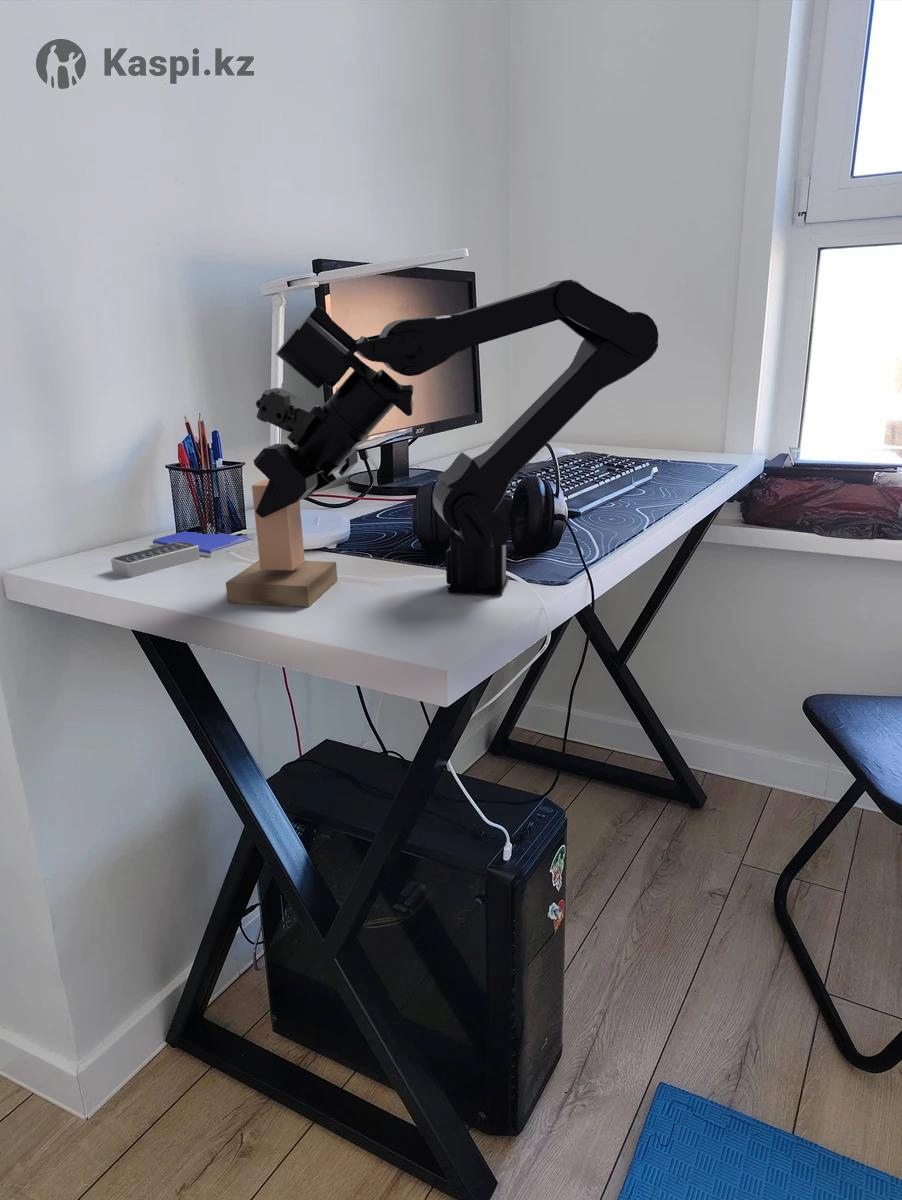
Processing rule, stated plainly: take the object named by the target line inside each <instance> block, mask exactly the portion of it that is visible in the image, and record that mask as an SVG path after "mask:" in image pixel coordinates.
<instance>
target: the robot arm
mask: <svg viewBox="0 0 902 1200" xmlns="http://www.w3.org/2000/svg"><path fill="white" fill-rule="evenodd" d="M555 321H560V322H562V323H563V324H564V325H565V326H566V327H568V328H569V329H570V330H571V331H573V332H574V333H575V334H576V335H577V336H579V337H581V338H583V340H582V341H581V343H580V345H579V347H578V349H577V351H576V354H575V355H574V358H573V360H572V361H571V363H570V364H569V366H568V368H566V369H565V370H564V372H563V373H561V375H560V376H558V377H557V379H555V381H553V382H552V383H551V384H550V386H549V387H548V388H547V389H546V390H545V391H544V392H543V393H542V394H541V395H540V396H538V398H537V399H536V400H535V401H534V402H532V403H531V405H530V406H529V407H528V408H527V409H526V410H525V411H524V412H523V413H522V414H521V415H520V416H519V417H518V418H517V419H516V420H515V421H514V422H513V423H512V424H511V425H510V426H509V427H508V428H507V429H506V430H505V431H504V432H503V433H502V434H501V435H500V437H498V439H496V440H495V442H494V443H492V444H491V445H490V447H489V448H488V449H486V450H485V451H484V452H482V453H481V454H478V455H477V456H475V457H473V458H471V457H470V456H469V455H467V454H466V453H464V452H460V453H459V454H458V455H457V457H456V458H455V459H454V460H453V462H452V463H451V465H450V466H449V467H448V468H447V469H446V470H444V471H443V472H439V473H438V474H437V475H436V476H437V478H438V479H440V480H438V482H437V483H436V484H435V486H434V488H433V490H432V505H433V507H434V510H435V512H436V513H437V514H438V516H439V517H440V518H442V520H443V521H444V522H445V523H446V524H447V525H448V527H450V529H451V530H452V531H453V532H454V534H453V536H452V537H451V538H450V539H449V541H450V542H449V547H448V549H447V550H446V551H445V571H446V572H445V575H446V576H445V577H446V584H447V585H449V586H448V587H447V593H448V594H461V595H462V594H463V595H482V596H483V595H485V596H502V595H503V593H504V591H505V589H506V586H507V584H508V582H509V579H510V578H509V576H508V575H507V543H508V539H509V538H510V534H511V532H512V527H511V525H509V524H508V523H506V521H504V519H502V518H501V517H500V516H499V515H498V514H497V513H496V512H495V511H496V510H497V509H498V507H500V505H501V503H502V502H503V500H504V498H505V496H506V493H507V490H508V489H509V487H510V484H511V482H512V480H513V479H514V478H515V476H516V475H518V473H519V472H520V471H521V470H522V469H523V468H524V467H525V466H526V465H527V464H528V463H529V462H530V461H531V460H532V459H533V458H534V457H535V456H536V455H537V454H538V453H539V452H540V451H541V450H542V449H543V448H544V447H545V446H546V445H547V444H548V443H549V442H550V441H551V440H552V439H553V438H554V437H555V436H556V435H557V434H558V433H559V432H560V431H561V430H562V429H563V428H564V427H565V426H566V425H567V424H568V422H570V421H571V420H572V419H573V418H574V417H575V416H576V415H577V414H578V413H579V412H580V411H581V410H582V409H583V408H584V406H586V405H587V404H588V403H589V402H590V401H591V400H592V399H593V397H595V396H596V395H597V394H598V393H599V392H600V391H601V390H603V389H605V388H606V387H609V386H610V385H612V384H614V383H615V382H618V381H620V380H622V379H623V378H626V377H627V376H628V375H631V374H632V373H633V372H634V371H636V370H637V369H638V368H640V367H641V366H642V365H644V364H645V363H647V362H648V361H649V360H651V358H652V357H653V356H654V354H656V352H657V350H658V347H659V331H658V326H657V325H656V323H655V321H654V319H652V317H650V316H649V315H648V314H646V313H644V312H641V311H628V310H626V309H625V308H623V307H621V306H619V304H616V303H614V302H612V301H610V300H608V299H607V298H604V297H602V296H600V295H599V294H596V293H594V292H592V291H591V290H589V289H588V288H586V287H585V286H584V285H582V284H581V283H580V282H579V281H577V280H575V279H565V280H555V281H553V282H551V283H550V284H548V285H546V286H543V287H540V288H537V289H533V290H530V291H527V292H523V293H520V294H517V295H513V296H511V297H507V298H503V299H501V300H497V301H494V302H489V303H487V304H485V305H481V306H477V307H473V308H471V309H467V310H464V311H461V312H458V313H455V314H454V313H452V314H443V315H434V316H433V315H432V316H424V317H423V316H422V317H413V318H404V319H403V318H402V319H398V320H394V321H392V322H389V323H388V324H387V325H385V326H383V329H382V330H381V332H380V334H377V335H373V336H367V337H366V336H360V337H359V339H355V338H353V337H352V336H351V335H350V334H349V333H348V332H346V331H345V330H344V329H343V328H342V327H341V325H340V326H339V325H338V324H337V323H336V322H335V320H333V319H332V317H331V316H330V315H329V314H328V312H326V310H324V309H323V308H322V307H321V306H319V305H317V306H315V307H314V308H313V309H312V310H311V312H309V314H308V315H307V316H306V318H304V320H303V321H302V322H301V324H299V326H298V327H295V328H294V329H293V330H292V332H291V333H290V334H289V335H288V337H286V340H284V342H283V343H282V344H281V346H280V347H279V349H278V350H277V352H276V353H275V355H276V356H277V357H279V358H280V359H281V360H282V361H283V362H284V363H285V364H287V365H288V366H289V367H290V368H292V369H293V370H294V371H295V372H296V373H298V374H299V375H300V376H302V378H303V379H305V380H306V381H307V382H308V383H310V384H311V385H312V386H314V388H315V389H317V390H318V389H320V388H321V387H322V386H323V385H324V384H325V385H326V386H327V387H329V388H330V389H333V388H334V387H335V386H336V385H337V384H338V382H340V380H341V379H342V378H343V377H344V375H346V373H347V372H348V370H349V369H350V368H351V369H352V370H353V371H352V372H351V373H350V375H349V376H348V377H347V378H346V379H345V380H344V381H343V382H342V384H341V385H340V386H339V387H338V388H337V390H336V391H335V392H334V393H333V394H332V395H331V396H330V397H329V399H328V400H327V401H326V402H325V403H323V404H314V403H312V402H311V401H309V400H306V399H304V398H303V397H301V396H298V395H296V394H295V393H292V392H290V391H289V390H286V389H283V388H279V387H274V388H270V389H266V390H265V389H264V392H262V394H261V397H260V399H258V400H256V401H255V406H256V408H257V409H258V411H257V414H256V418H257V419H258V420H259V421H261V422H263V423H269V424H271V425H274V426H275V427H277V428H279V429H282V430H284V431H287V432H288V433H289V435H287V437H286V438H287V439H288V440H289V441H290V443H291V444H293V445H294V446H293V447H291V446H290V445H289V443H275V444H272V445H270V446H267V447H265V448H264V447H263V449H262V450H261V451H260V452H259V453H258V454H257V456H256V457H255V458H254V459H253V464H254V466H255V467H256V469H258V470H259V471H260V472H261V473H262V474H263V475H264V476H265V477H266V479H269V482H268V484H267V487H266V489H265V491H264V494H263V496H262V498H261V500H260V503H259V505H258V507H257V509H256V513H257V514H258V515H259V516H260V517H261V518H264V517H266V516H268V515H270V514H272V513H274V512H276V511H278V510H280V509H283V508H285V507H287V506H289V505H291V504H293V503H296V502H298V501H300V502H301V500H304V499H306V498H308V497H309V496H311V495H313V494H314V492H316V491H318V490H320V489H322V488H324V487H326V486H328V485H330V484H332V483H333V482H335V481H336V480H337V478H336V476H335V474H334V473H335V472H337V471H338V470H339V471H338V474H339V476H341V477H343V476H345V475H346V474H347V473H350V471H351V470H352V469H353V468H354V467H355V465H357V464H358V462H359V461H358V459H359V458H358V451H357V450H356V449H357V448H358V447H359V446H361V445H364V444H365V443H366V442H367V441H368V439H369V438H370V436H369V434H371V432H372V431H373V430H374V429H375V428H376V426H378V425H379V423H380V422H382V420H383V419H384V418H385V417H386V415H388V414H389V413H390V411H391V410H392V409H393V408H394V407H396V408H397V409H398V410H400V411H401V412H402V414H404V415H406V416H407V417H411V416H412V415H413V409H414V401H413V394H414V385H413V384H406V385H405V384H400V383H399V382H397V380H395V378H393V377H392V376H391V375H389V373H388V372H386V371H385V370H384V369H383V368H382V369H379V370H378V371H376V370H375V369H373V368H371V367H370V366H368V365H367V364H366V363H365V362H364V361H362V360H361V359H360V358H359V357H358V356H357V355H356V354H358V355H359V356H360V357H361V358H362V359H365V360H368V361H370V362H373V363H383V364H384V366H385V367H387V369H389V370H391V371H392V372H395V373H397V374H399V375H402V376H405V377H406V376H407V377H414V376H420V375H422V374H424V373H426V372H428V371H429V370H431V369H434V368H436V367H438V366H440V365H441V364H443V363H445V362H447V361H448V360H450V359H451V358H453V357H455V356H456V355H458V354H460V353H461V352H463V351H465V350H467V349H468V348H470V347H471V348H472V347H475V346H477V345H481V344H483V343H487V342H490V341H494V340H497V339H501V338H505V337H507V336H509V335H513V334H517V333H521V332H523V331H527V330H529V329H533V328H537V327H539V326H542V325H546V324H549V323H553V322H555ZM355 353H356V354H355Z"/></svg>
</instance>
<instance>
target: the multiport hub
mask: <svg viewBox="0 0 902 1200" xmlns="http://www.w3.org/2000/svg"><path fill="white" fill-rule="evenodd" d="M200 557H201V555H199V547H198V545H194V544H190V543H186V542H181V541H179V542H175V543H171V544H167V545H163V546H159V547H156V546H154V547H151V548H147V549H142V550H139V551H134V552H131V553H127V554H123V555H118V556H115V557H112V558H110V561H111V562H110V563H111V568H112V573H113V574H114V575H119V576H121V577H125V578H128V579H130V578H131V579H132V578H136V577H140V576H143V575H147V574H150V573H154V572H158V571H162V570H165V569H169V568H172V567H176V566H180V565H184V564H188V563H190V562H195V561H198V560H200V559H201V558H200Z"/></svg>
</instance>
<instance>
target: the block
mask: <svg viewBox="0 0 902 1200" xmlns="http://www.w3.org/2000/svg"><path fill="white" fill-rule="evenodd" d="M268 482H269V479H268V478H265V479H263V480H260V481H259V482H256V483H253V484H252V485H251V492H252V500H253V509H254V511H253V512H254V521H255V531H256V537H257V538H256V540H257V548H258V549H257V550H258V556H259V557H258V558H259V560H260V569H268V570H293V569H295V568H296V567H297V566H299V565H300V564H301V563H303V562H304V561H306V560H305V559H306V558H305V549H304V539H303V526H302V525H303V524H302V515H301V500H300V501H298V502H296V503H293V504H291V505H289V506H287V507H285V508H283V509H280V510H278V511H276V512H274V513H272V514H270V515H268V516H266V517H264V518H261V517H260V516H259V515H258V514H257V513H256V509H257V507H258V505H259V503H260V500H261V498H262V496H263V494H264V491H265V489H266V487H267V484H268ZM259 560H258V561H259Z"/></svg>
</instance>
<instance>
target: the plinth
mask: <svg viewBox="0 0 902 1200" xmlns="http://www.w3.org/2000/svg"><path fill="white" fill-rule="evenodd" d="M337 582H338V569H337V562H336V561H326V560H323V561H320V560H305V561H304V562H303V563H301V564H300V565H299V566H297V567H296V568H295V569H293V570H268V569H260V560H257V561H256V562H254V563H253V564H251V565H249V566H248V567H247V568H245V569H243V570H242V571H241V572H239V573H237V574H236V575H234V577H232V578H231V579H228V580H227V581H226V582H225V587H226V588H225V589H226V596H227V603H228V604H239V605H240V604H242V605H243V604H245V605H261V606H262V605H263V606H279V607H280V606H282V607H301V608H309V607H311V606H312V605H313V604H314V603H315V602H317V601H318V599H320V598H321V596H323V595H324V594H325V593H326V592H328V590H330V589H331V587H333V586H334V585H335V584H336V583H337Z"/></svg>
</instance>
